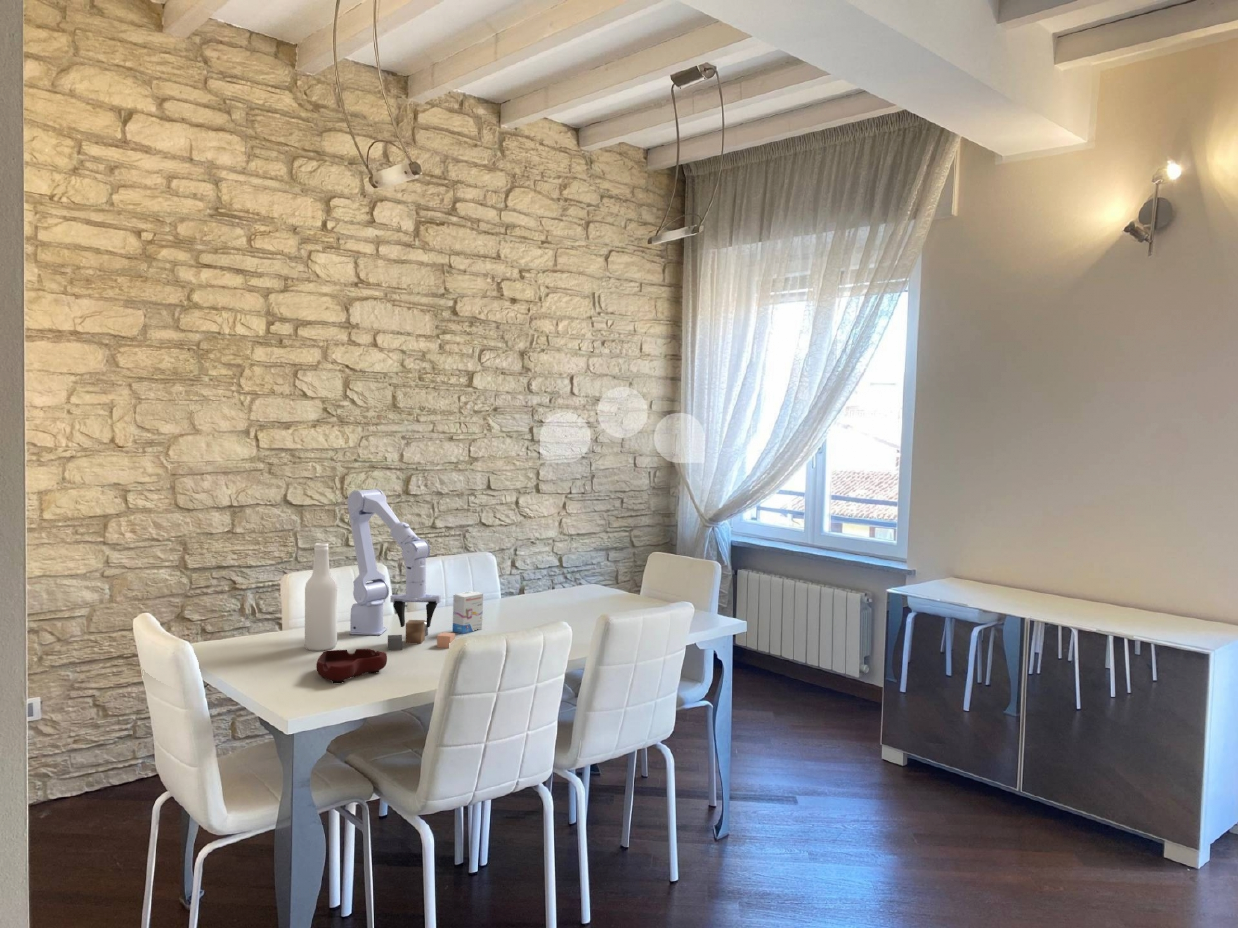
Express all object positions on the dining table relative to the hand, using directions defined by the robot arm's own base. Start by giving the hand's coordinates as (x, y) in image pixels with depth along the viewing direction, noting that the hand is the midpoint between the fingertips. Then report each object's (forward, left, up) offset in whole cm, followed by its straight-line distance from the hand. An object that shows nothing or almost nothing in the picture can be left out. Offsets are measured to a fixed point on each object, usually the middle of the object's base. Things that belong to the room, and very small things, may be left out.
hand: (415, 626), depth 264 cm
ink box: (+13, +15, -5) cm, 20 cm away
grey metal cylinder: (0, +8, -5) cm, 9 cm away
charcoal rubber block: (-4, -8, -5) cm, 10 cm away
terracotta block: (+10, -4, -5) cm, 12 cm away
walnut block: (0, 0, -5) cm, 5 cm away
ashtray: (-10, -34, -5) cm, 36 cm away
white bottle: (-25, -9, -5) cm, 27 cm away
